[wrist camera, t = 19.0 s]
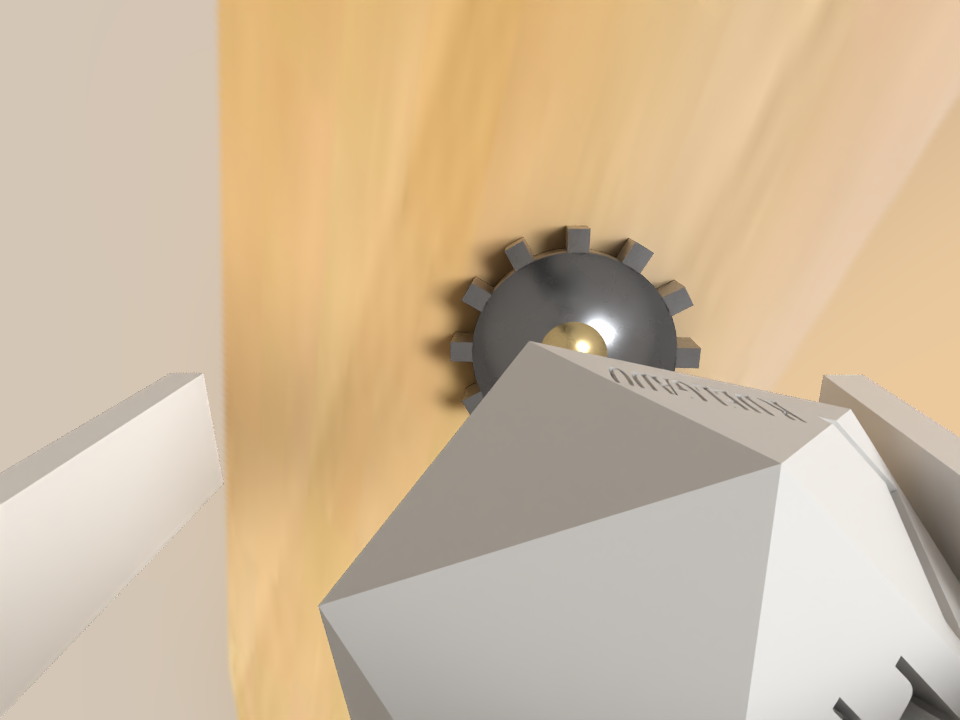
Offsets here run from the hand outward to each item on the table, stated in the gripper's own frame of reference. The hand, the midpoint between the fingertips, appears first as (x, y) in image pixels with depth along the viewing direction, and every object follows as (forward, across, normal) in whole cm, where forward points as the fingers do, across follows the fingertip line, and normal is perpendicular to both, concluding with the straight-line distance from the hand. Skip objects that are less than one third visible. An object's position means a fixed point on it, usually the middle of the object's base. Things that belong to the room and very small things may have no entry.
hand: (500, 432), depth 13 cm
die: (+1, +3, -1) cm, 3 cm away
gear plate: (+25, +3, -6) cm, 26 cm away
